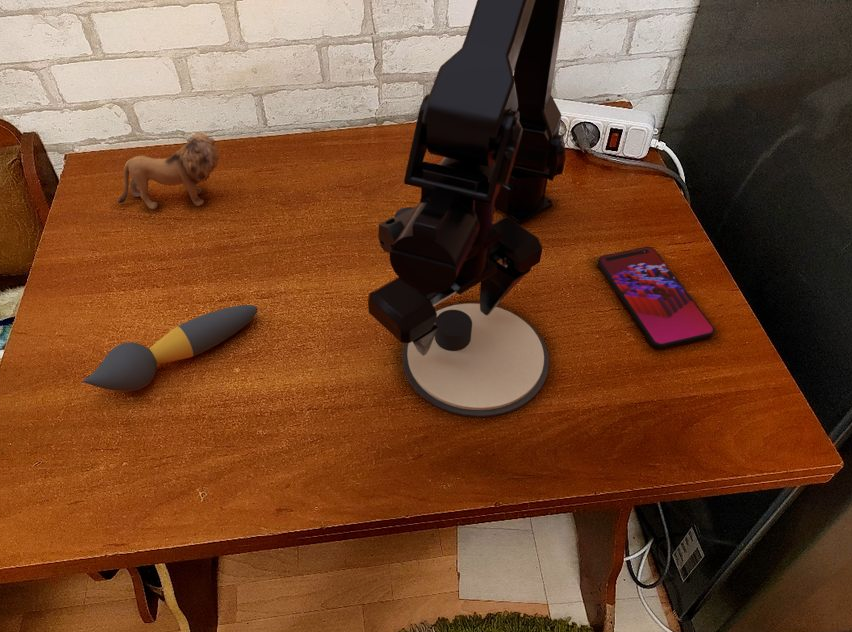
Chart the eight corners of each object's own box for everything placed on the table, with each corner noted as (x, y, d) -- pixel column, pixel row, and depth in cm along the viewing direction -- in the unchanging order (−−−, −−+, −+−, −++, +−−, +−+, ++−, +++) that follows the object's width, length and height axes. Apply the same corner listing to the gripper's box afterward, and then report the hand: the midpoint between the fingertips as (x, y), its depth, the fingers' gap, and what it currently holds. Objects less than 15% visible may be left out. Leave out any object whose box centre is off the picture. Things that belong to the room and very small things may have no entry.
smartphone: (655, 346, 74) (595, 256, 84) (653, 352, 75) (593, 261, 84) (719, 332, 76) (652, 244, 85) (716, 337, 76) (650, 250, 86)
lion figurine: (227, 180, 96) (213, 122, 90) (229, 203, 93) (214, 145, 86) (119, 195, 95) (97, 137, 88) (118, 219, 91) (94, 161, 84)
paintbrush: (240, 298, 81) (232, 267, 77) (265, 321, 79) (258, 290, 75) (86, 392, 73) (68, 362, 69) (109, 420, 70) (91, 391, 66)
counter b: (412, 217, 91) (412, 202, 89) (431, 232, 89) (432, 217, 87) (388, 230, 89) (387, 215, 87) (407, 245, 87) (407, 231, 85)
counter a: (454, 318, 78) (455, 304, 76) (478, 339, 75) (479, 324, 74) (427, 335, 76) (427, 320, 74) (451, 357, 74) (452, 342, 72)
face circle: (478, 285, 82) (479, 279, 82) (579, 365, 74) (581, 359, 73) (372, 349, 76) (372, 344, 75) (470, 444, 68) (471, 439, 67)
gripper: (476, 144, 71) (467, 257, 83) (328, 217, 63) (341, 330, 75) (556, 195, 65) (534, 308, 77) (404, 282, 58) (405, 393, 70)
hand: (453, 332), depth 75 cm, fingers open, 9 cm apart
